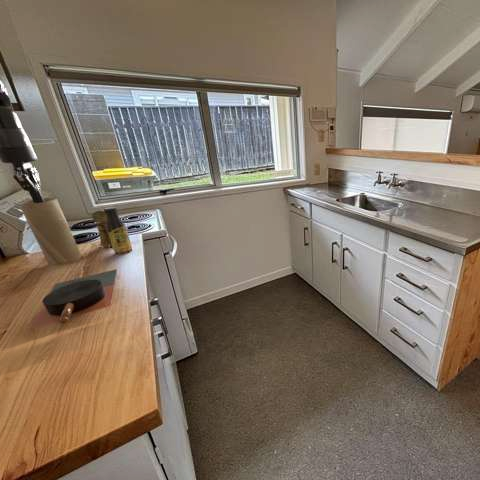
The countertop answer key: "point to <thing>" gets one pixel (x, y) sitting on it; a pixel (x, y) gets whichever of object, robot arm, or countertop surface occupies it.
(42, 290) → the countertop surface
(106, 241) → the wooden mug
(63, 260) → the tube
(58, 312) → the pan
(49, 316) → the board
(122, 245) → the sauce bottle
